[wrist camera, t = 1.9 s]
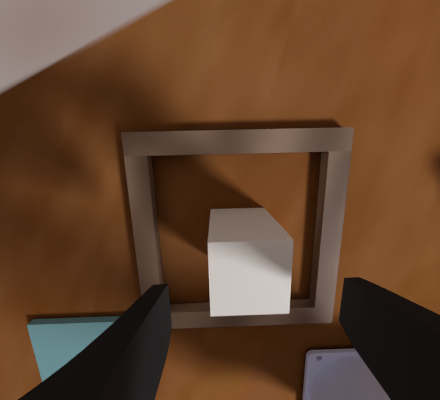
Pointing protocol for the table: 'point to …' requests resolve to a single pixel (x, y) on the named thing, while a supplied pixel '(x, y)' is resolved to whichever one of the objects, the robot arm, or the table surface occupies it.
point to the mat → (63, 339)
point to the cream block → (248, 263)
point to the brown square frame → (242, 144)
